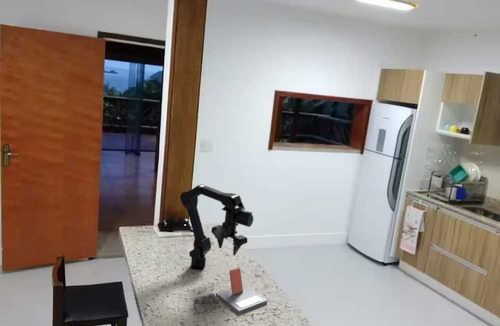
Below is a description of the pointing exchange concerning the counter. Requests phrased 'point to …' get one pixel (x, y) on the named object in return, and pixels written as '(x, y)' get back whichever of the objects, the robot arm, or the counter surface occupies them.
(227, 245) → the counter surface
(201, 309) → the grey lumpy stone piece
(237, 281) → the lever
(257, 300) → the base
